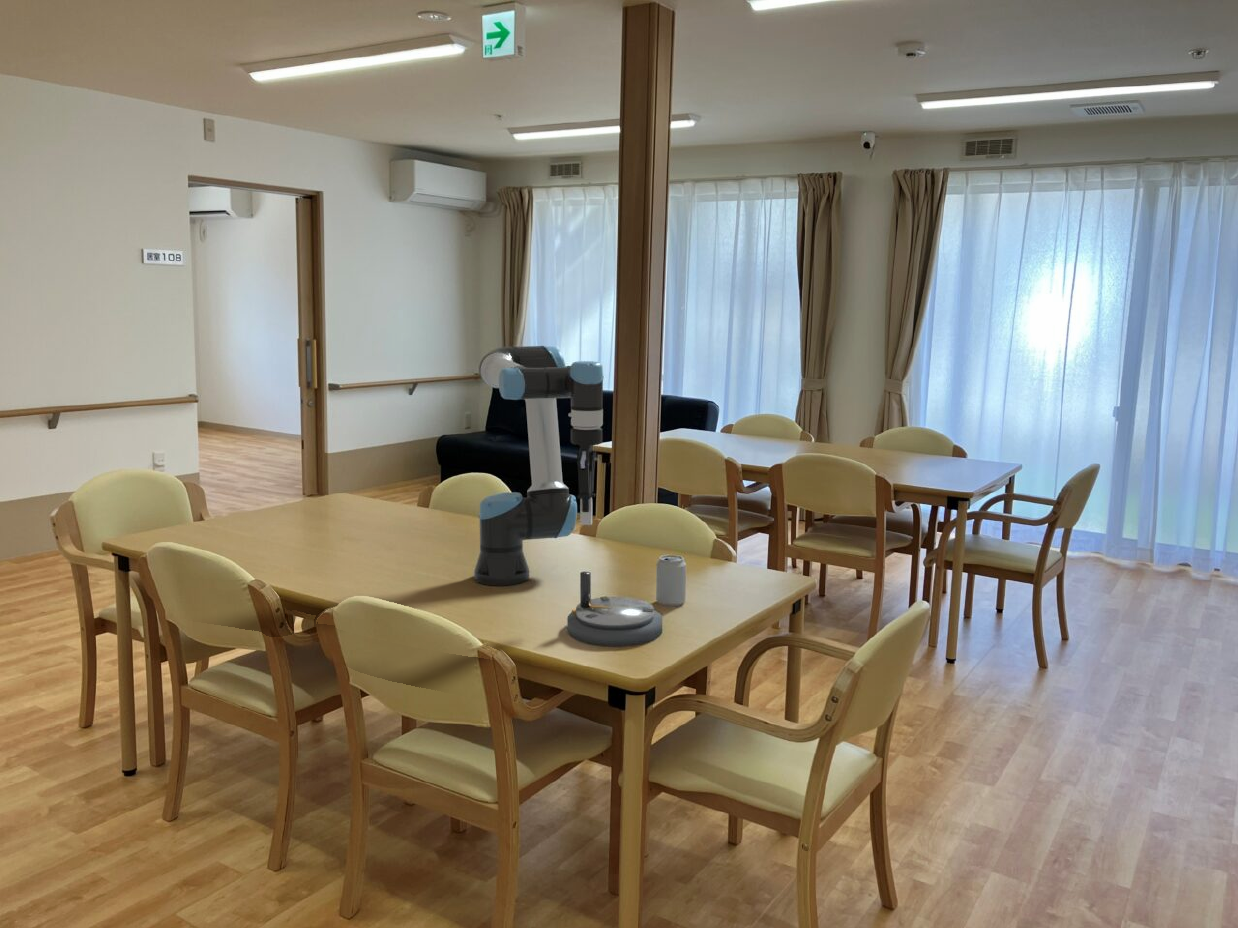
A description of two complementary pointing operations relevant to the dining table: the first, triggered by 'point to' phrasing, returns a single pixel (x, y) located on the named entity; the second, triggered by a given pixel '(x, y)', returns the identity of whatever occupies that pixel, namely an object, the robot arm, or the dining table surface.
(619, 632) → the base
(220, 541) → the dining table surface
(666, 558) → the can
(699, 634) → the dining table surface
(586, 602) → the peg stand
